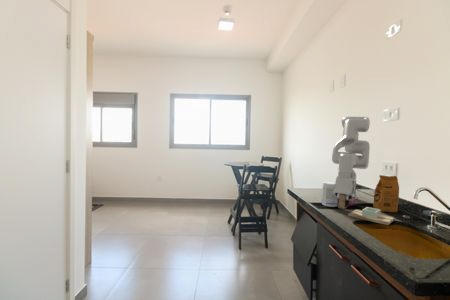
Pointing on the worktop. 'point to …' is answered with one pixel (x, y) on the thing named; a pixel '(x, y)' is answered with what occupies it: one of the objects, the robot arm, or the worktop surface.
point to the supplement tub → (329, 195)
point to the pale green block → (371, 212)
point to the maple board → (381, 219)
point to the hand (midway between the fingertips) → (342, 205)
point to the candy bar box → (352, 200)
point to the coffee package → (387, 194)
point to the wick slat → (342, 201)
